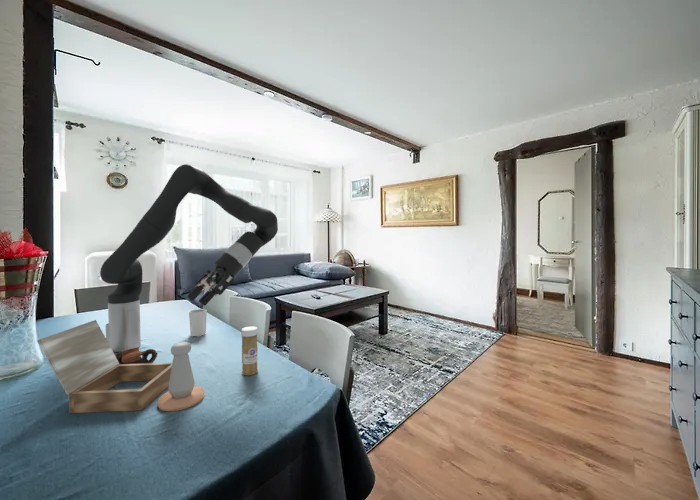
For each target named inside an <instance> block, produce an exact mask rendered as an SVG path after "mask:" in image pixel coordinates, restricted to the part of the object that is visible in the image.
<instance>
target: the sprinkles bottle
mask: <svg viewBox="0 0 700 500" xmlns="http://www.w3.org/2000/svg"><path fill="white" fill-rule="evenodd" d="M258 333H259V331H258V327H257V326H253V325H252V326H245V327H243V328H241V335H240V336H241V341H242V342H241V364H242V368H241V369H242V370H241V374H242V375H243V376H253V375H256V374H257V373H258V371H259V370H258V369H259V368H258Z"/></svg>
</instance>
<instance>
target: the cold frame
mask: <svg viewBox="0 0 700 500" xmlns="http://www.w3.org/2000/svg"><path fill="white" fill-rule="evenodd" d="M36 342H37V344H38V345H39V346H40V349H41V351H42V352H43V354H44V357H45V358H46V360H47V361H48V363H49V365H50V367H51V369H52V371H53V373H54V374H55V376H56V378H57V380H58V381H59V383H60V385H61V387H62V388H63V391H65V392H64V393H65V394H66V395H68V409H69V411H68V412H69V414H77V413H78V414H79V413H81V414H83V413H99V412H100V413H102V412H103V413H105V412H127V411H129V412H131V411H143V410H144V409H145V408H146V407H148V406H149V404H151V403H152V402H153V401H154V400H155V399H157V398H158V397H159V395H160V394H162V393H163V392H164V391H165V390H166V389H168V385H169V380H170V374H171V369H172V363H173V362H155V363H154V362H153V363H147V364H119V362H118V360H117V358H116V356H115V355H116V354H115V352H113V351H112V349H111V347H110V345H109V343H108V342H107V340H106V335H104V333H103V331H102V329H101V327H100V324H99V323H98V322H97V320H96V319H94V320H92V321H88V322H85V323H83V324H80V325H77V326H74V327H71V328H68V329H65V330H63V331H60V332H57V333H54V334H50V335H49V336H45V337H42V338H40V339H37V340H36ZM140 381H141V382H144V381H145V382H148V383H146V384H144V386H141V387H140V389H139V388H138V389H135V388H134V389H111V388H112V387H114V386H115V385H117V384H118V383H120V382H140Z"/></svg>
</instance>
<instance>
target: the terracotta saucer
mask: <svg viewBox="0 0 700 500" xmlns="http://www.w3.org/2000/svg"><path fill="white" fill-rule="evenodd" d="M204 397H205V389H204V388H203V387H201V386H199V385H198V386H197V385H194V388H193V390H192V393H191V395H189V396H187V397H186V398H182V399H175V398H173V397H172V396H171V394H170V393H169V391H167V392H165V393H163V394H162V395H161V396H160V397H159V398H158V400H157V407H158V409H159V410H161V411H163V412H178V411H182V410H186V409H188V408H191V407H193V406H196V405H198V404H199V403H200V402H201V401H202V400H203V399H204Z"/></svg>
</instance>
